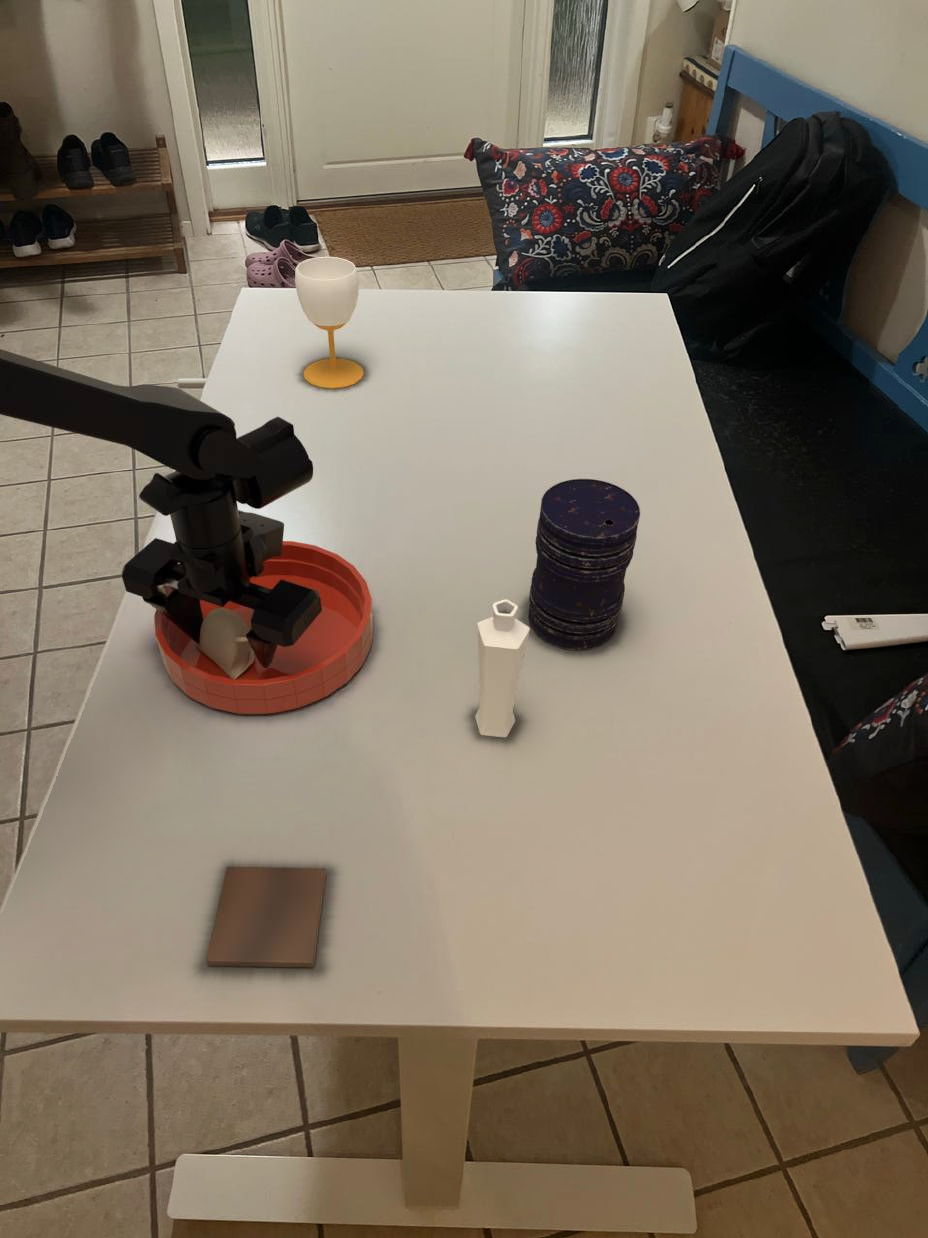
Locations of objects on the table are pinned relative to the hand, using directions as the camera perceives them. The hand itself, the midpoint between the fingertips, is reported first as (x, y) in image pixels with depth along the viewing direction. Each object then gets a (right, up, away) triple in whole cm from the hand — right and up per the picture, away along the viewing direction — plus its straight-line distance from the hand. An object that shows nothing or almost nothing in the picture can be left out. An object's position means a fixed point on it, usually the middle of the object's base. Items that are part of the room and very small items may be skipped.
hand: (234, 652), depth 89 cm
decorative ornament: (0, -1, +1) cm, 1 cm away
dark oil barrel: (+35, +3, +7) cm, 36 cm away
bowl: (+3, +1, +3) cm, 5 cm away
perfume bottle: (+26, -7, -4) cm, 27 cm away
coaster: (+8, -20, -19) cm, 29 cm away
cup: (+3, +40, +45) cm, 61 cm away
